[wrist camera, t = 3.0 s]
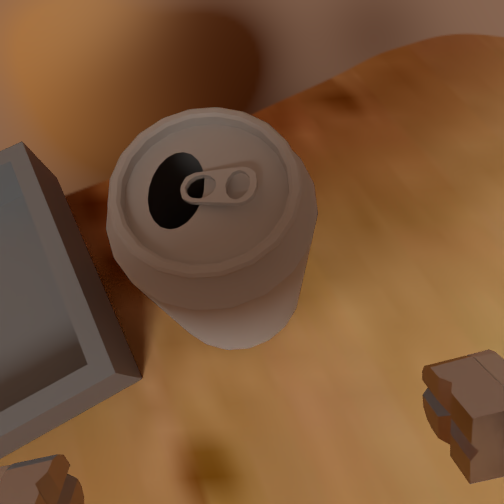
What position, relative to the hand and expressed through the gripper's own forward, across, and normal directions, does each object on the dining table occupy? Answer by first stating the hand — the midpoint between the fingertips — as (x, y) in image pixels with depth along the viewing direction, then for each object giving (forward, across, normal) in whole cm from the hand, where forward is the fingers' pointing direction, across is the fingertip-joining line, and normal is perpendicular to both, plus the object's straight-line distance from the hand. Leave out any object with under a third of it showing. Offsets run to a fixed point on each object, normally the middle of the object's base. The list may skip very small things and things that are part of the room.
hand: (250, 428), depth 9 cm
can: (+14, 0, +4) cm, 15 cm away
